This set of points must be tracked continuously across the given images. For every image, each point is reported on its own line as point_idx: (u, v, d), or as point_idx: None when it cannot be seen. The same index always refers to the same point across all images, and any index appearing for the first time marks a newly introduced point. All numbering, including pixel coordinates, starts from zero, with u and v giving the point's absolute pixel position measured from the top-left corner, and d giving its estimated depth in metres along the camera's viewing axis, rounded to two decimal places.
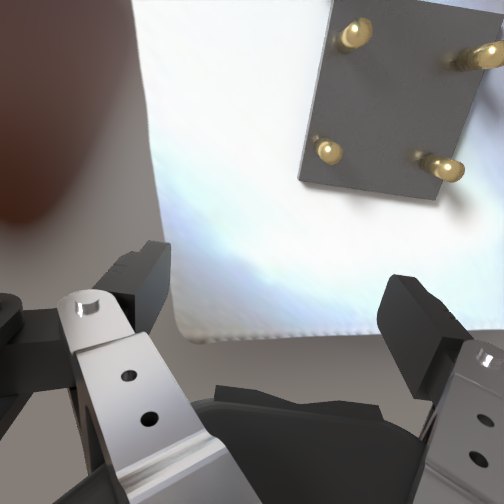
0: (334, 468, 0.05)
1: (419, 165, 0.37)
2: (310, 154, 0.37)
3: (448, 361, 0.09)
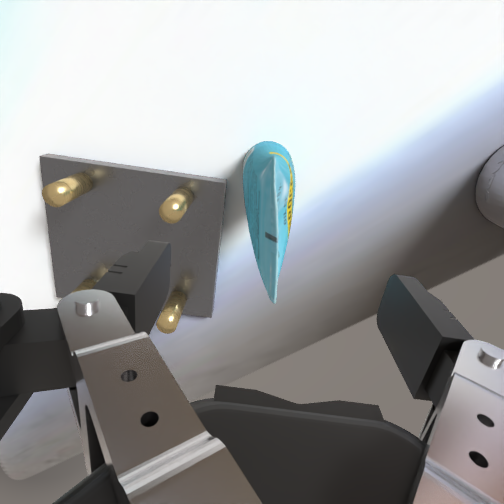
0: (335, 468, 0.05)
1: (85, 277, 0.38)
2: (72, 167, 0.33)
3: (448, 361, 0.09)
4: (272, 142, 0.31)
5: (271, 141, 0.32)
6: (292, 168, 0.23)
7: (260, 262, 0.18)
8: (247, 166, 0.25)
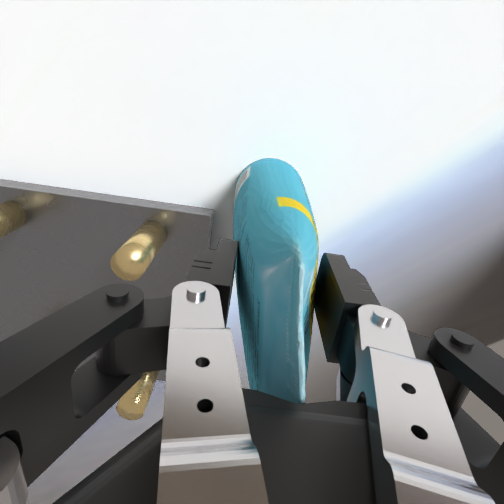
0: (334, 468, 0.05)
1: None
2: None
3: (349, 324, 0.09)
4: (276, 161, 0.22)
5: None
6: (312, 214, 0.14)
7: None
8: (238, 207, 0.15)
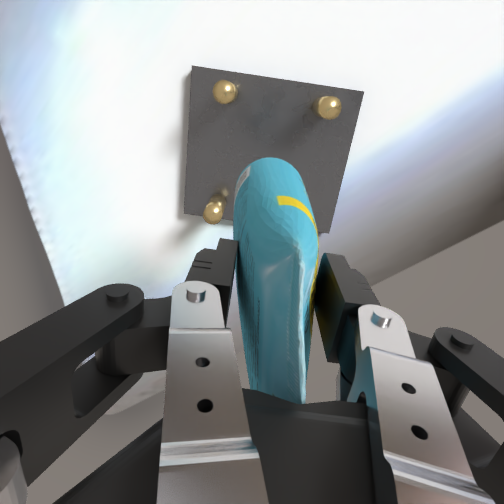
0: (334, 468, 0.05)
1: (215, 192, 0.40)
2: (220, 77, 0.35)
3: (349, 324, 0.09)
4: (276, 160, 0.22)
5: None
6: None
7: None
8: (239, 206, 0.15)
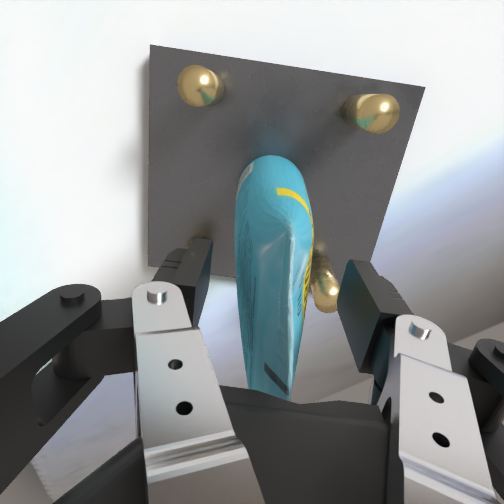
0: (334, 468, 0.05)
1: (192, 237, 0.27)
2: (197, 64, 0.22)
3: (385, 335, 0.09)
4: (278, 158, 0.22)
5: None
6: (310, 207, 0.15)
7: None
8: (240, 199, 0.16)
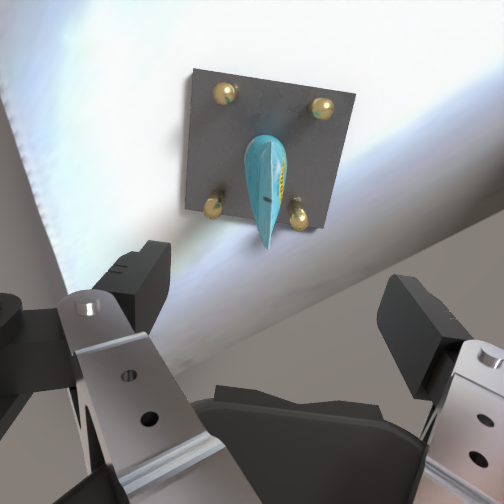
0: (334, 468, 0.05)
1: (214, 189, 0.42)
2: (220, 79, 0.37)
3: (448, 361, 0.09)
4: None
5: (268, 135, 0.39)
6: (284, 155, 0.30)
7: (258, 220, 0.25)
8: (249, 152, 0.31)
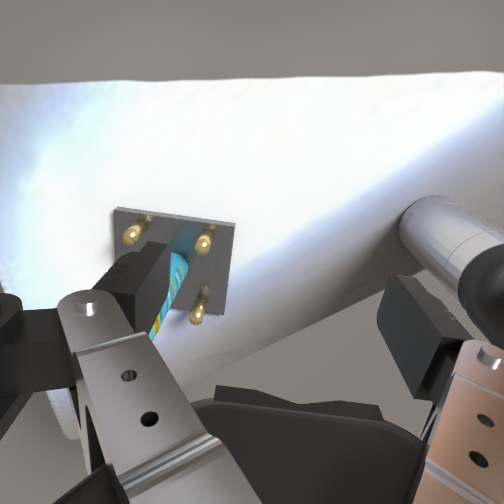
0: (334, 468, 0.05)
1: None
2: (134, 217, 0.50)
3: (448, 361, 0.09)
4: (171, 256, 0.51)
5: (173, 253, 0.52)
6: None
7: None
8: None
